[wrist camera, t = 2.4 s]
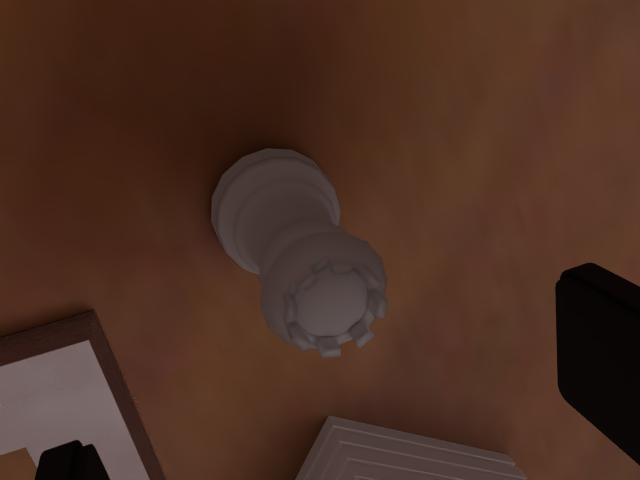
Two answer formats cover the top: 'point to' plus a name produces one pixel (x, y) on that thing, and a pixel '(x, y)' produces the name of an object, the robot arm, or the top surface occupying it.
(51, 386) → the socket plate
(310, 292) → the rook chess piece
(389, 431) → the long grey block
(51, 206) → the top surface
